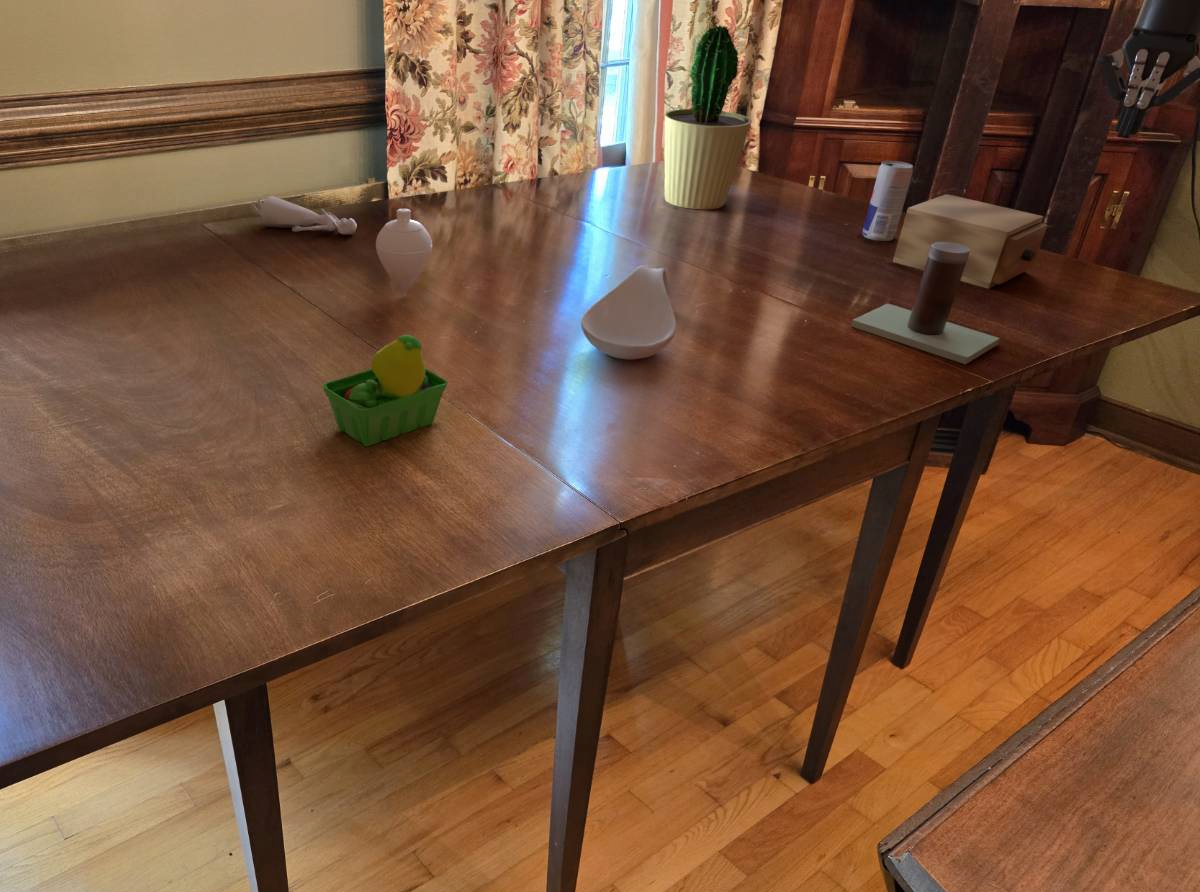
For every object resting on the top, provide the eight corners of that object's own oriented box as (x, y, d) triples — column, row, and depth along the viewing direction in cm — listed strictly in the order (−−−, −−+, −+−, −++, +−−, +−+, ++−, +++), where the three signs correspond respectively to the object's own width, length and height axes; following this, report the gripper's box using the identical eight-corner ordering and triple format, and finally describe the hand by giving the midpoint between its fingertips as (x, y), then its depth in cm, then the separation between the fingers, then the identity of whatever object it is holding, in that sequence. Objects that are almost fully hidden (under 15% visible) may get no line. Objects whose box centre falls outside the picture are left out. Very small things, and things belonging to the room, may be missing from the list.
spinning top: (366, 300, 133) (364, 212, 126) (393, 283, 138) (392, 198, 132) (415, 310, 130) (415, 221, 123) (441, 293, 136) (442, 207, 129)
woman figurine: (270, 185, 162) (369, 204, 159) (271, 211, 165) (369, 231, 162) (237, 203, 153) (342, 224, 150) (238, 230, 155) (341, 252, 152)
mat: (997, 345, 128) (1000, 338, 127) (965, 364, 122) (967, 357, 121) (885, 309, 137) (887, 303, 136) (850, 326, 131) (852, 319, 131)
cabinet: (1023, 270, 154) (1043, 216, 149) (988, 289, 146) (1008, 232, 141) (930, 245, 163) (946, 193, 158) (892, 261, 155) (907, 207, 150)
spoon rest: (663, 377, 115) (672, 321, 111) (568, 362, 118) (573, 306, 114) (690, 310, 134) (699, 259, 130) (608, 298, 137) (614, 248, 133)
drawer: (1039, 269, 151) (1056, 226, 148) (1007, 286, 144) (1024, 241, 140) (943, 244, 161) (956, 203, 157) (909, 259, 153) (921, 216, 150)
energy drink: (872, 230, 169) (891, 159, 162) (900, 238, 166) (920, 165, 159) (855, 235, 166) (874, 163, 159) (883, 243, 163) (903, 170, 156)
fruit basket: (406, 399, 108) (406, 302, 102) (457, 428, 103) (460, 329, 96) (321, 428, 102) (315, 327, 95) (371, 461, 96) (367, 357, 90)
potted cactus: (735, 216, 173) (770, 29, 156) (650, 207, 176) (674, 23, 159) (737, 194, 186) (769, 19, 168) (657, 186, 188) (680, 13, 171)
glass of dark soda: (949, 329, 129) (976, 248, 123) (933, 338, 126) (960, 255, 120) (916, 319, 132) (941, 239, 125) (900, 327, 129) (925, 246, 123)
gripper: (1116, -14, 121) (1063, 131, 131) (1235, -4, 114) (1170, 150, 124) (1135, -16, 126) (1083, 125, 136) (1252, -6, 118) (1187, 143, 128)
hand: (1125, 137), depth 130 cm, fingers closed
